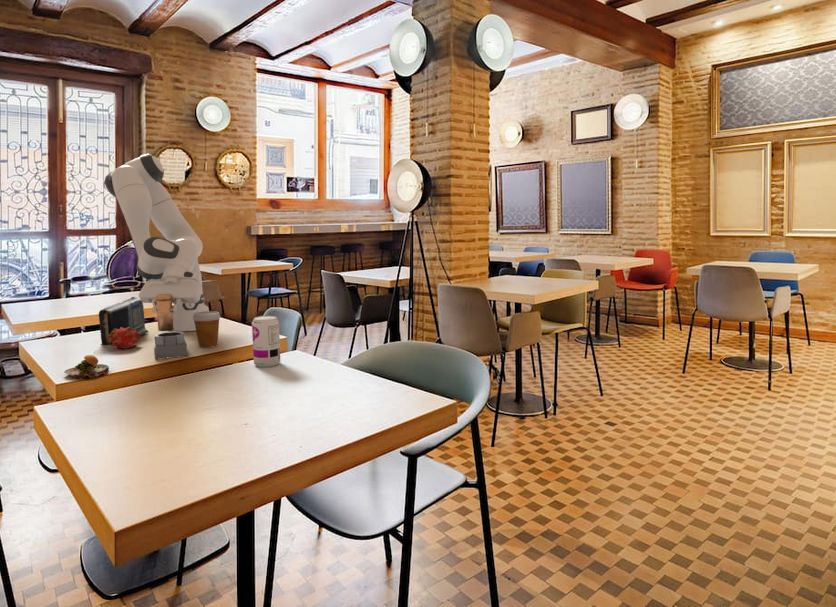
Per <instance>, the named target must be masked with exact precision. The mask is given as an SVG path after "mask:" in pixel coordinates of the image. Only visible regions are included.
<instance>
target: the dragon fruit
mask: <svg viewBox="0 0 836 607" xmlns="http://www.w3.org/2000/svg"><path fill="white" fill-rule="evenodd" d="M114 330H115V331H114ZM141 338H142V335H140V334H139V333H138V332H136V330H131V328H130V327H127V328H125V329H124V328H123V327H120V329H113V331H111V334H109V335H108V342H109V344H110V346H109V347H111V348H114V347H116V349H117V350H121V349H122V348H123V349H125V350H126V349H128V348H132V349H133V348H136V347H138V345H137V344H138V342H139V340H141Z"/></svg>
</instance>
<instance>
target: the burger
mask: <svg viewBox="0 0 836 607" xmlns="http://www.w3.org/2000/svg"><path fill="white" fill-rule="evenodd" d="M95 353H96V351H94V353H93V355H92V354H86V355H84V356H83V358H84V359H82V360H81V361H80V363H77V365H75V366H74V367H71V368H68V369H66V370H65V371H64V373H65V374H66V375H69V377H75V379H76V380H84V379H85V377H89V378H92V379H95V378H98V377H99V376H101V375H104V376H105V375H107V374H108V372H109V373H110V366H109V365H108V364H107V365H106V364H101V363H100V364H99V359H98V357H96V355H94V354H95Z"/></svg>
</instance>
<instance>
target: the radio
mask: <svg viewBox="0 0 836 607" xmlns="http://www.w3.org/2000/svg"><path fill="white" fill-rule="evenodd" d="M144 310H145V308H144V303H143V302H142V300H141V299H140V297H135V296H134V297H133V296H131V297H130V298H128V299H126V300H124V301H122V302H118V303H115V304H113V305H110V306H106V307H104V308H102V309H101V310H99V311H98V320H99V321H98V322H99V331H100V340H101V344H100V345H101V346H107V347H111V346H110V344H109V342H108V335H109V334H111V331H113V329H120V327H123V328H124V329H125V328H127V327H130V328H131V330H136V332H138V333H139V334H140V335H141V336H143V335H145V334H148V333H149V330H148V329H146V319H145V311H144ZM114 331H115V330H114Z"/></svg>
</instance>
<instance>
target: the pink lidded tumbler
mask: <svg viewBox="0 0 836 607" xmlns="http://www.w3.org/2000/svg"><path fill="white" fill-rule="evenodd" d="M172 299H173V296H172V295H171V294H157V295H156V296H155V300H156V304H157V312H156V318H157V330H158V332H172V331H171V330H174V326H173V313H172V312H171V311H170V308H171V306H173V303H172Z"/></svg>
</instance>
